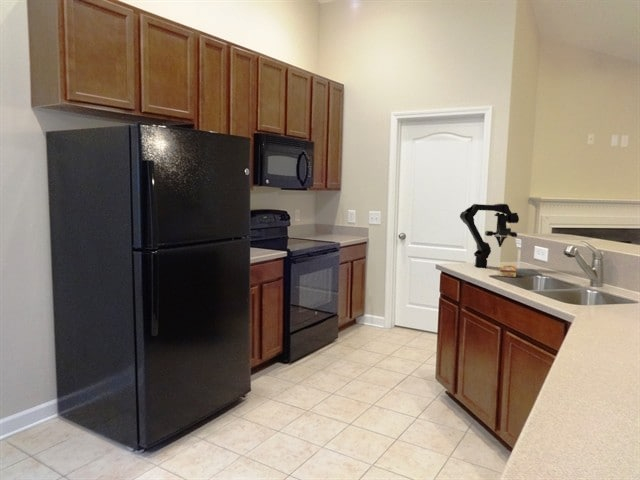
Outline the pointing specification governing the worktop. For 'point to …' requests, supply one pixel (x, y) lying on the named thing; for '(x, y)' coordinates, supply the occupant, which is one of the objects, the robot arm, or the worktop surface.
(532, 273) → the mat
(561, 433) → the worktop surface
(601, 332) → the worktop surface
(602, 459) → the worktop surface
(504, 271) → the candy box
